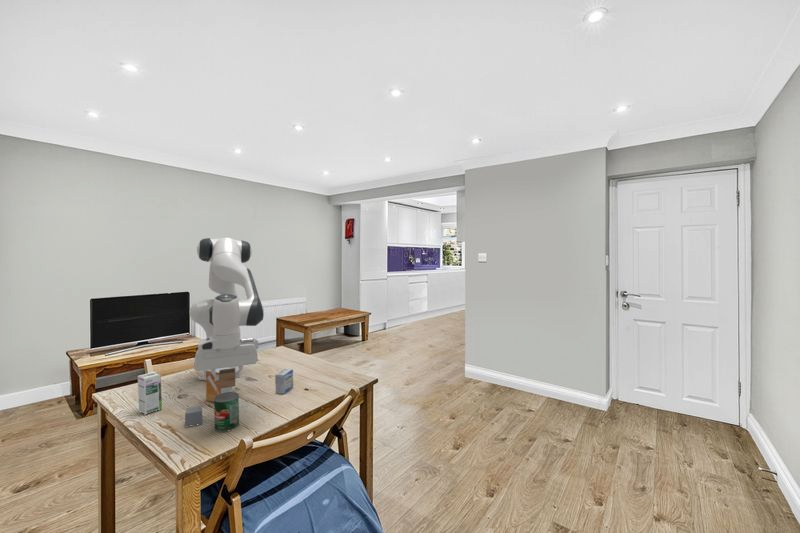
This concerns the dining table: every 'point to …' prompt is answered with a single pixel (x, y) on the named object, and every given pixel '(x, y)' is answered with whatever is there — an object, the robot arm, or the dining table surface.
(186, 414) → the slate block
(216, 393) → the small box
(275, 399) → the dining table surface
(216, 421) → the canned tomato
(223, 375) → the walnut block
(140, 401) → the syrup box
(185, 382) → the dining table surface
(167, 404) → the dining table surface
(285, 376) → the medicine box
